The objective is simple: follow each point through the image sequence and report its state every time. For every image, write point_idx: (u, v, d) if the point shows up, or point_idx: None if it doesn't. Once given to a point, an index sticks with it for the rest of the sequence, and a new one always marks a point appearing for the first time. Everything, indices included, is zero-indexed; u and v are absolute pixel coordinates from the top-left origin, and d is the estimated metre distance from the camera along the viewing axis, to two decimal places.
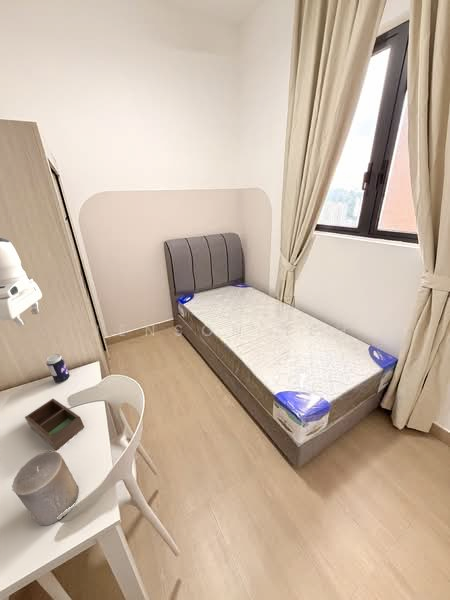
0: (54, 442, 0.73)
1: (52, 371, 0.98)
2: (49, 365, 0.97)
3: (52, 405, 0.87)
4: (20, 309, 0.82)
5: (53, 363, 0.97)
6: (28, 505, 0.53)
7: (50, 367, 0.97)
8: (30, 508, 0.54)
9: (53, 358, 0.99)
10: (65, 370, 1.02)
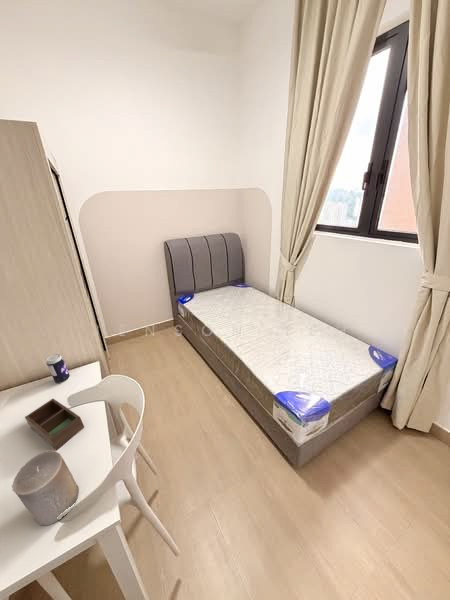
0: (54, 442, 0.73)
1: (52, 371, 0.98)
2: (49, 365, 0.97)
3: (52, 405, 0.87)
4: None
5: (53, 363, 0.97)
6: (28, 505, 0.53)
7: (50, 367, 0.97)
8: (30, 508, 0.54)
9: (53, 358, 0.99)
10: (65, 370, 1.02)
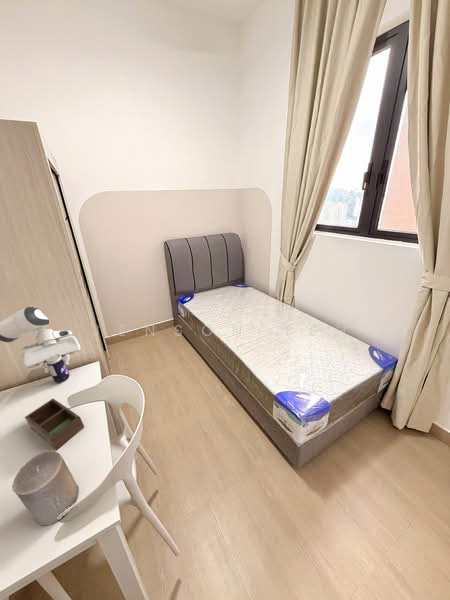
0: (54, 442, 0.73)
1: (52, 371, 0.98)
2: (49, 365, 0.97)
3: (52, 405, 0.87)
4: None
5: (53, 363, 0.97)
6: (28, 505, 0.53)
7: (50, 367, 0.97)
8: (30, 508, 0.54)
9: (53, 358, 0.99)
10: (65, 370, 1.02)
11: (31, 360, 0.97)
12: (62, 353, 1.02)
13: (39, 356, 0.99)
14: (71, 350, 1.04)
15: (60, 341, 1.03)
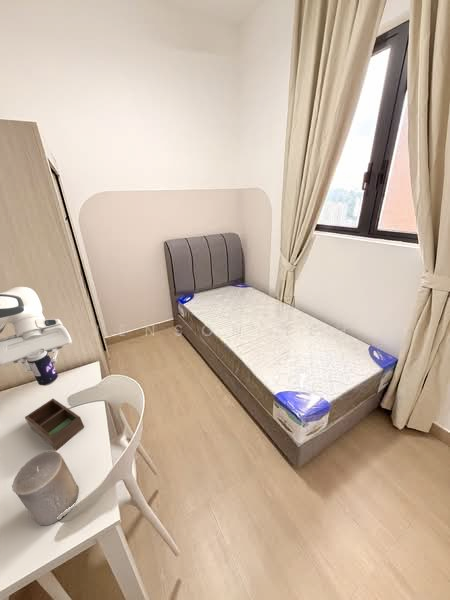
0: (54, 442, 0.73)
1: (34, 370, 0.77)
2: (30, 362, 0.75)
3: (52, 405, 0.87)
4: None
5: (35, 360, 0.75)
6: (28, 505, 0.53)
7: (31, 365, 0.76)
8: (30, 508, 0.54)
9: (36, 354, 0.77)
10: (52, 369, 0.80)
11: (7, 356, 0.75)
12: (48, 347, 0.80)
13: (17, 351, 0.77)
14: (60, 344, 0.82)
15: (46, 332, 0.81)
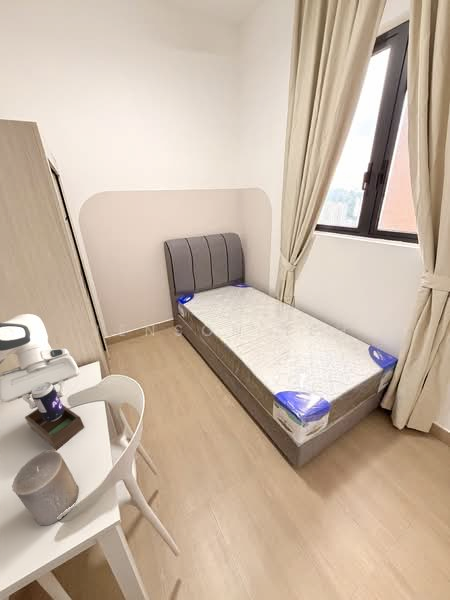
0: (54, 442, 0.73)
1: (40, 407, 0.71)
2: (35, 399, 0.70)
3: None
4: None
5: (41, 396, 0.70)
6: (28, 505, 0.53)
7: (37, 402, 0.70)
8: (30, 508, 0.54)
9: (41, 389, 0.72)
10: (58, 404, 0.75)
11: (10, 392, 0.70)
12: (54, 380, 0.75)
13: (21, 386, 0.72)
14: (66, 376, 0.77)
15: (51, 364, 0.76)
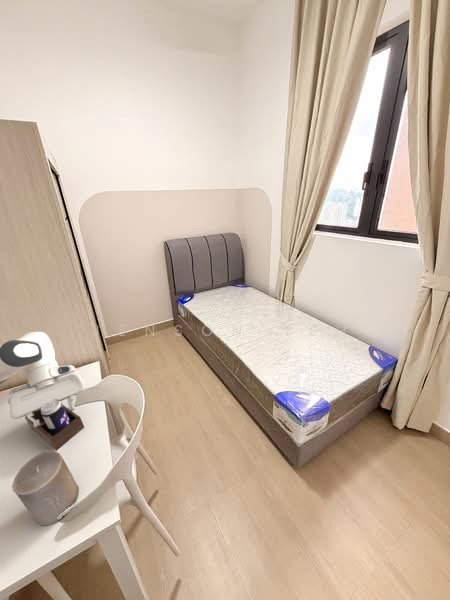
0: (54, 442, 0.73)
1: (48, 423, 0.74)
2: (44, 416, 0.73)
3: None
4: None
5: (50, 413, 0.73)
6: (28, 505, 0.53)
7: (46, 419, 0.73)
8: (30, 508, 0.54)
9: (50, 406, 0.75)
10: (66, 420, 0.78)
11: (20, 409, 0.73)
12: (62, 397, 0.78)
13: (31, 403, 0.74)
14: (73, 392, 0.80)
15: (59, 380, 0.79)
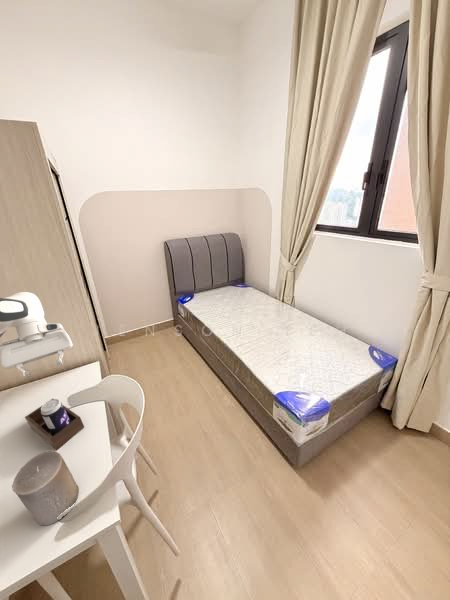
0: (54, 442, 0.73)
1: (48, 423, 0.74)
2: (44, 416, 0.73)
3: None
4: None
5: (49, 413, 0.73)
6: (28, 505, 0.53)
7: (46, 419, 0.73)
8: (30, 508, 0.54)
9: (50, 406, 0.75)
10: (66, 420, 0.78)
11: (10, 359, 0.78)
12: (49, 351, 0.83)
13: (20, 354, 0.80)
14: (61, 347, 0.85)
15: (47, 336, 0.84)
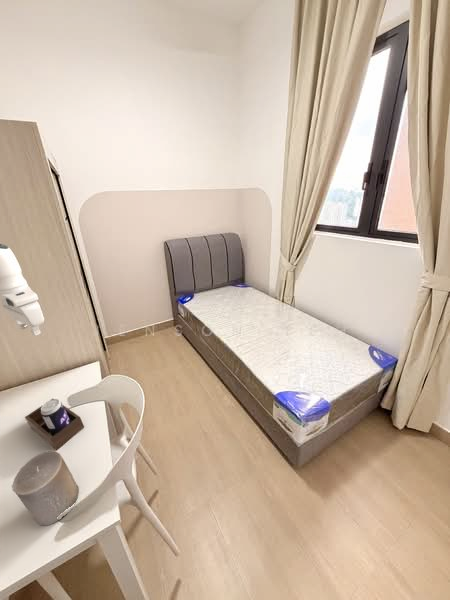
0: (54, 442, 0.73)
1: (48, 423, 0.74)
2: (44, 416, 0.73)
3: None
4: None
5: (49, 413, 0.73)
6: (28, 505, 0.53)
7: (46, 419, 0.73)
8: (30, 508, 0.54)
9: (50, 406, 0.75)
10: (66, 420, 0.78)
11: (6, 312, 0.81)
12: (22, 322, 0.77)
13: (9, 312, 0.79)
14: (27, 324, 0.75)
15: None
